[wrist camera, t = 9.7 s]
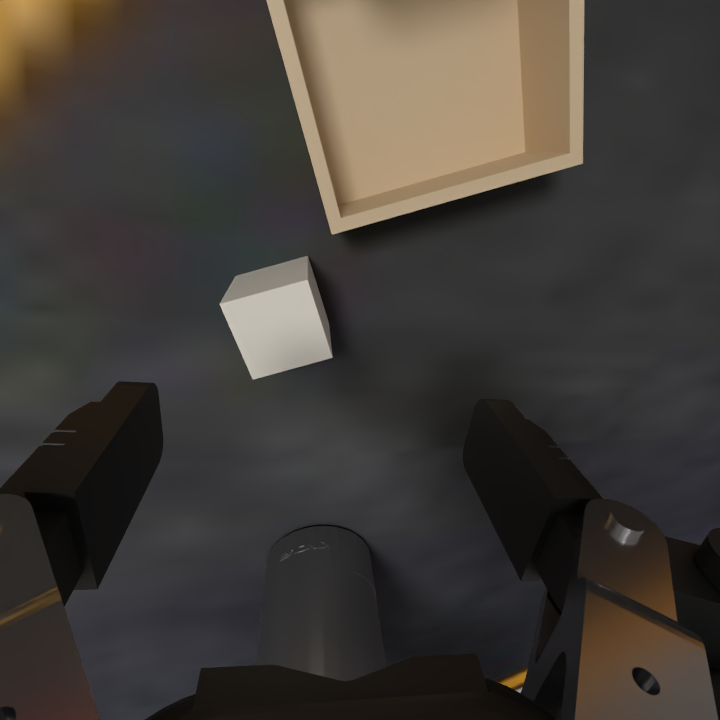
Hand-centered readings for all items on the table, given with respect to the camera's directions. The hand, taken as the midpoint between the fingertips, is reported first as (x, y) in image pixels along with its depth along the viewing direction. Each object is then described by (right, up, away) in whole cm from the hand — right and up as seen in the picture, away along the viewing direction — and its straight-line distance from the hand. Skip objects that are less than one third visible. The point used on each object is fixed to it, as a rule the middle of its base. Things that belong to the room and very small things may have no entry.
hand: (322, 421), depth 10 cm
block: (-4, +5, +15) cm, 17 cm away
